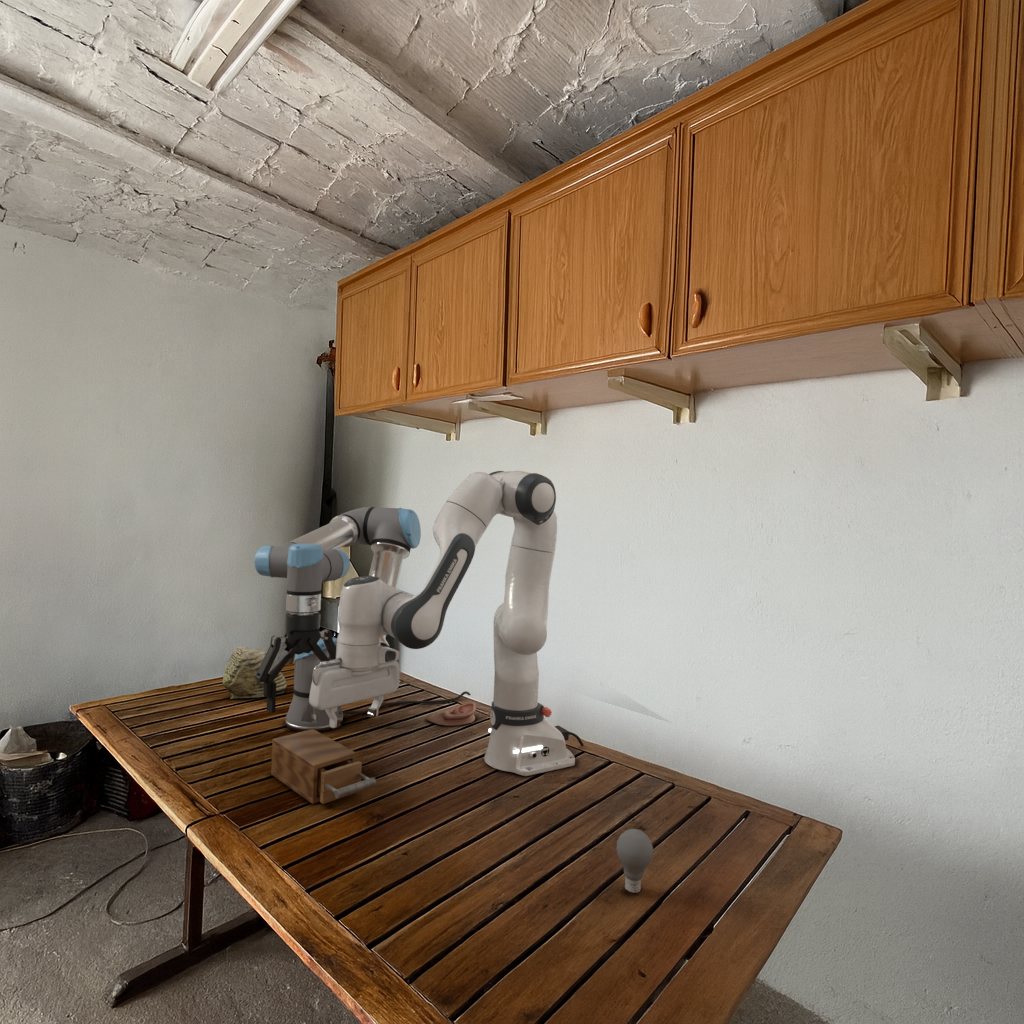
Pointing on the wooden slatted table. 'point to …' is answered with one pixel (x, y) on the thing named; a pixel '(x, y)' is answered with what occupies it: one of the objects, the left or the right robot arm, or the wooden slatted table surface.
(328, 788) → the drawer
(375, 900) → the wooden slatted table surface
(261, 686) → the fossil
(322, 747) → the cabinet
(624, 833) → the light bulb
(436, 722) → the anatomical model
